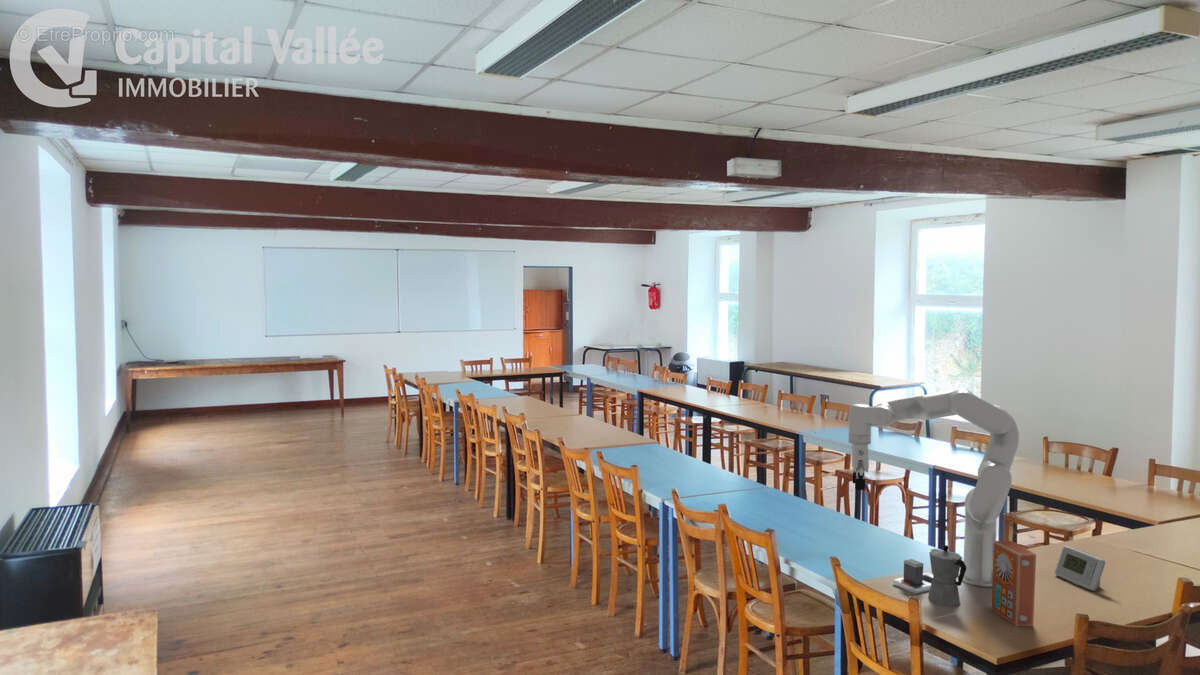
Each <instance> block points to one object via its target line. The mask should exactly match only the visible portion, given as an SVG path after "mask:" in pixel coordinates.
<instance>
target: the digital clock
mask: <svg viewBox="0 0 1200 675" xmlns="http://www.w3.org/2000/svg"><path fill="white" fill-rule="evenodd" d="M1105 566H1106V561H1105V559H1103V558H1100V557H1098V556H1096V555H1095V554H1091V553H1088V552H1086V551H1083V550H1080V549H1078V548H1074V547H1071V546H1068V545H1064V546H1063V548H1062V550H1061V553H1060V556H1059V558H1058V562H1057V564H1056V568H1055V570H1054V575H1055V576H1056V577H1059V578H1061V579H1063V580H1064V579H1066V580H1067V582H1069V581H1070V582H1069V583H1071V582H1072V583H1071V584H1073V583H1074V585H1076V584H1077V585H1076V586H1078V585H1079V586H1078V587H1080V586H1081V588H1082V587H1083V588H1082V589H1087V590H1090V591H1092V592H1095V591H1096V590H1097V589H1098V588H1100V587H1101V577H1102V574H1103V572H1104V568H1105ZM1066 580H1065V581H1066Z"/></svg>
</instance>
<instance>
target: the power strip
mask: <svg viewBox="0 0 1200 675" xmlns="http://www.w3.org/2000/svg"><path fill="white" fill-rule="evenodd" d="M903 579H904V576H902V577H899V578H894V579H893V581H892V584H893V585H892V586H895V587H898V588H900V589H903V590H905V591H907V592H910V593H912V594H914V595H918V594H923V593H927V592H929V591H930V587H931V582H932V579H933V574H932V573H930V572H923V585H920V586H916V587H915V586H913V585H911V583H909V582H906V581H904V580H903Z"/></svg>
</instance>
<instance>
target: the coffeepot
mask: <svg viewBox="0 0 1200 675" xmlns="http://www.w3.org/2000/svg"><path fill="white" fill-rule="evenodd" d="M942 547H943V549H937V548H936V549H935V548H933V549H930V551H929V561H930V568H931V574H932V575H933V579H932V582H931V587H930V591H928V592H929V593H928V595H927V598H928V600H929V601H930V602H931V603H933V604H936V605H938V606H942V607H957V606H959V605H961V600H960V593H959V587H960V586H961V585H962V583H963V578H964V574H965V572H966V565H965V563H964V559H963V557H962V556H961V555H960V554H959V553H957V552H954V551H950V550H949V548H950V546H949V545H947V544H943V545H942ZM959 573H960V574H959ZM958 575H959V576H958Z"/></svg>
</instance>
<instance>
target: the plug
mask: <svg viewBox="0 0 1200 675" xmlns="http://www.w3.org/2000/svg"><path fill="white" fill-rule="evenodd" d="M923 573H924V563H923V562H920V561H919V560H916V559H912V558H909V559H904V560H903V577H904V579H903V580H904V581H906V582H909V583H911V585H913V586H915V587H916V586H920V585H923Z"/></svg>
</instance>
